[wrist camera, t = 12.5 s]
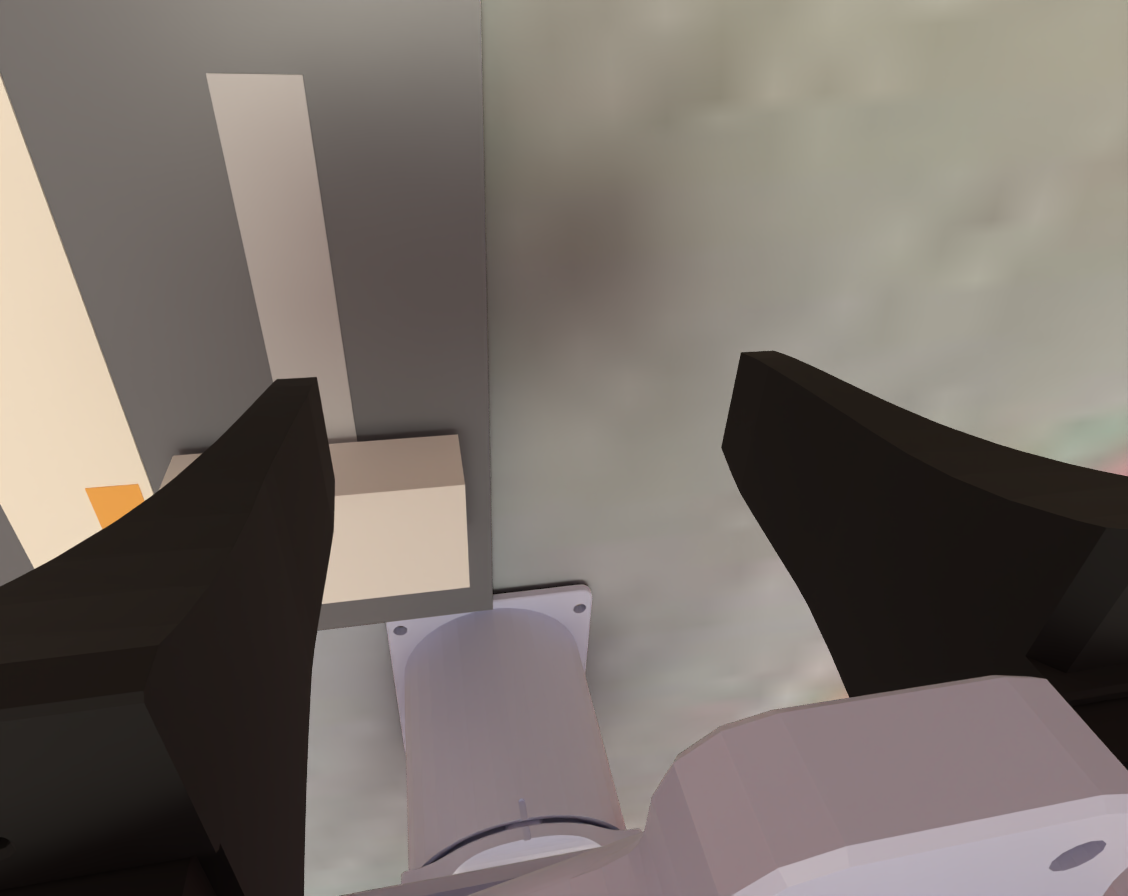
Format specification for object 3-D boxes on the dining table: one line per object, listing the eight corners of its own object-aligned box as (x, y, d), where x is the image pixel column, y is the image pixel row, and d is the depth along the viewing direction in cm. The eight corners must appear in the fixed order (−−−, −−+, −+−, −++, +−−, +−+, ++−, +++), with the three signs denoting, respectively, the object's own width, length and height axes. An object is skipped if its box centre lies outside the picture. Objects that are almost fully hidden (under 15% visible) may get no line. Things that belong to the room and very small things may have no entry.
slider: (462, 533, 24) (469, 587, 22) (207, 558, 23) (189, 619, 21) (457, 434, 22) (464, 484, 20) (172, 455, 20) (149, 512, 18)
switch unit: (489, 590, 28) (493, 611, 27) (-245, 674, 23) (-270, 703, 22) (470, -272, 14) (475, -287, 13) (-1333, -467, 10) (-1504, -507, 9)
